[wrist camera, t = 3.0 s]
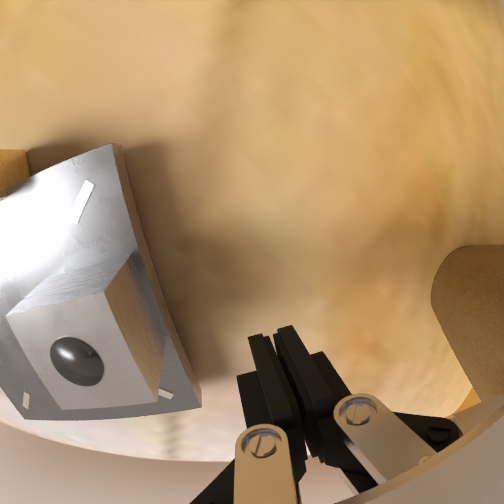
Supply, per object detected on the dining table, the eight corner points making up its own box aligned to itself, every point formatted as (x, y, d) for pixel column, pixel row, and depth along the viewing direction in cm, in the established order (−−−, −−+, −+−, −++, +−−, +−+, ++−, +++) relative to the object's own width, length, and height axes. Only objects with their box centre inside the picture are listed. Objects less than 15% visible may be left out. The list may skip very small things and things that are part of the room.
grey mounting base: (118, 109, 15) (76, 83, 9) (200, 381, 22) (204, 446, 15) (-53, 199, 14) (-103, 215, 7) (34, 399, 20) (12, 446, 14)
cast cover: (131, 253, 15) (102, 292, 10) (165, 344, 17) (156, 403, 12) (47, 277, 14) (4, 316, 10) (85, 358, 16) (61, 410, 12)
